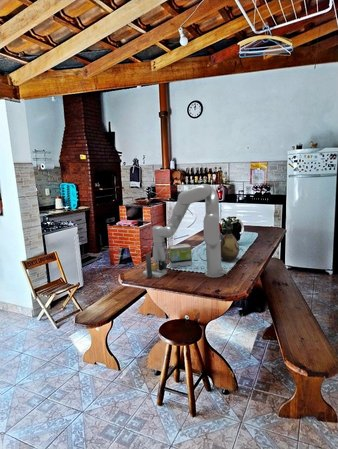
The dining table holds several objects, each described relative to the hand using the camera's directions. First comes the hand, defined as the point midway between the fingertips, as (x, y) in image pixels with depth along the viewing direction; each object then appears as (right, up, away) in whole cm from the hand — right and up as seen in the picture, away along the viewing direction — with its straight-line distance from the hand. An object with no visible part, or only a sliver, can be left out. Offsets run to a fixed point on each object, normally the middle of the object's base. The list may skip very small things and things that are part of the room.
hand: (161, 269), depth 210 cm
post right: (+2, -1, +9) cm, 10 cm away
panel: (-4, -3, +1) cm, 6 cm away
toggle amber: (-5, 0, +3) cm, 6 cm away
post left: (-7, -5, -5) cm, 10 cm away
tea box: (+14, +1, +16) cm, 21 cm away
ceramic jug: (+51, +5, +20) cm, 55 cm away
